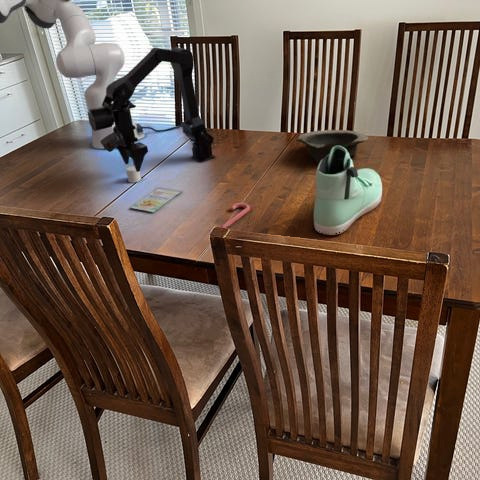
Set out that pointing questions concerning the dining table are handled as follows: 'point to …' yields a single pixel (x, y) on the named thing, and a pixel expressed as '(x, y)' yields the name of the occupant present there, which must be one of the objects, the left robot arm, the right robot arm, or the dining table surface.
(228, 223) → the candy cane
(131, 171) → the canister
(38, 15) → the left robot arm
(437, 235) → the dining table surface
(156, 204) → the baking ingredient package
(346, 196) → the sneaker
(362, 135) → the stone bowl
